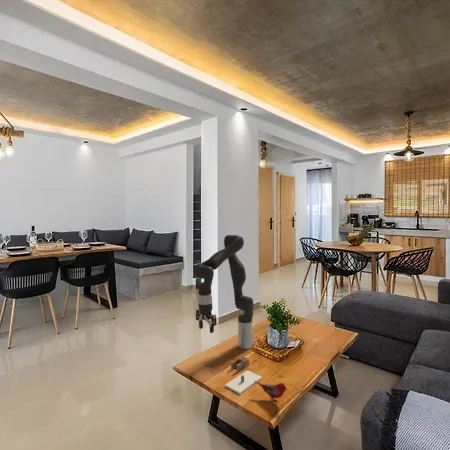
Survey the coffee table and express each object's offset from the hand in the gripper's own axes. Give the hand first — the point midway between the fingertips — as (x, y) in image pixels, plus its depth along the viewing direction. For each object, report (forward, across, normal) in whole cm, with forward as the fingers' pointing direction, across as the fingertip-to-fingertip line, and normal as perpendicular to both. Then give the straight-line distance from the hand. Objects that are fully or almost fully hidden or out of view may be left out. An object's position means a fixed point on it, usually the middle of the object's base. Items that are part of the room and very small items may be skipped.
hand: (206, 330), depth 169 cm
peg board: (+24, -21, -6) cm, 33 cm away
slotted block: (+24, -10, -16) cm, 31 cm away
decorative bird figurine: (+24, -39, -4) cm, 46 cm away
